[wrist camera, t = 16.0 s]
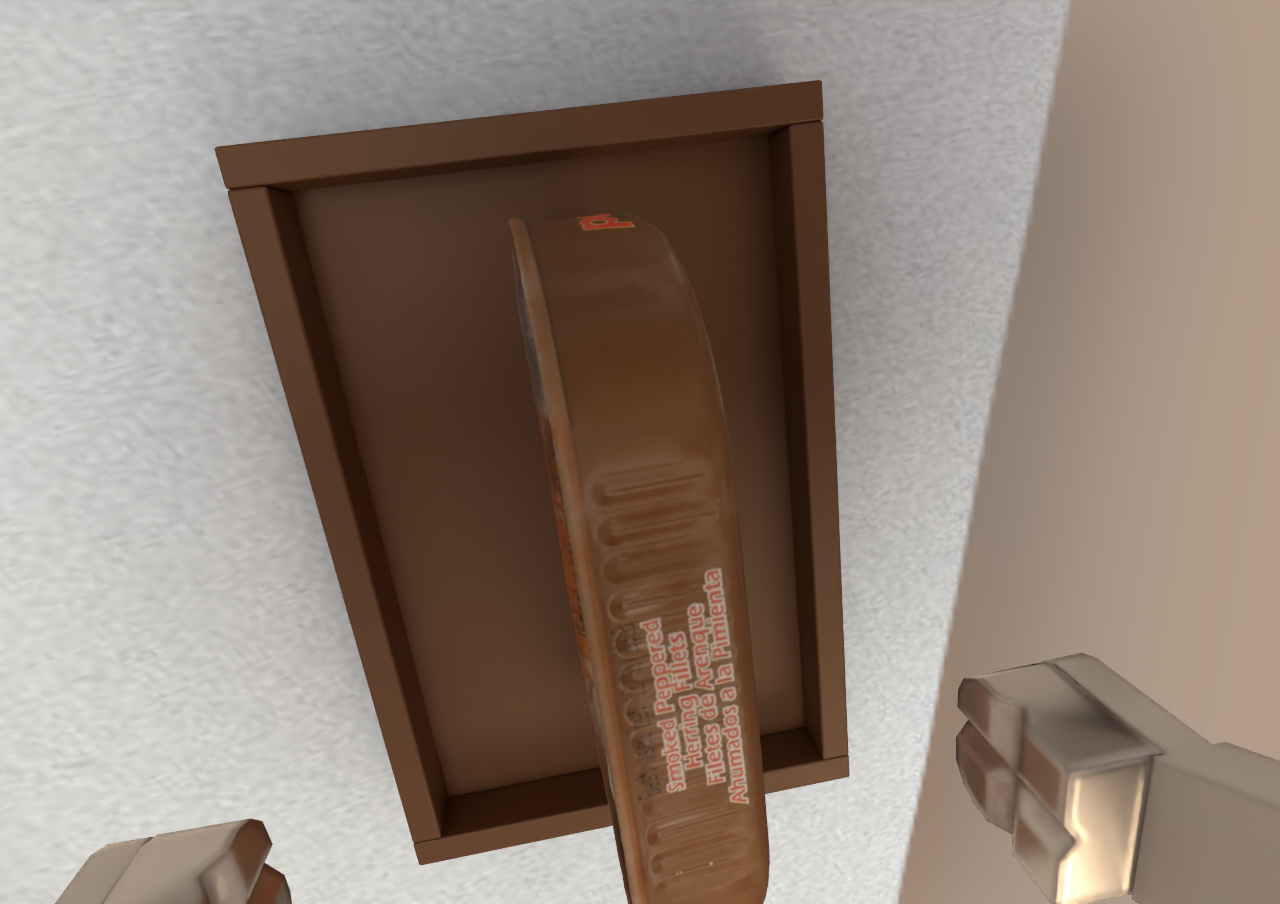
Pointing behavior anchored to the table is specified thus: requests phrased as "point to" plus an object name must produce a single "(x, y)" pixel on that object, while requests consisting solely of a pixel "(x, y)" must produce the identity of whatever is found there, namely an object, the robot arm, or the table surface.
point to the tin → (648, 551)
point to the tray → (509, 433)
